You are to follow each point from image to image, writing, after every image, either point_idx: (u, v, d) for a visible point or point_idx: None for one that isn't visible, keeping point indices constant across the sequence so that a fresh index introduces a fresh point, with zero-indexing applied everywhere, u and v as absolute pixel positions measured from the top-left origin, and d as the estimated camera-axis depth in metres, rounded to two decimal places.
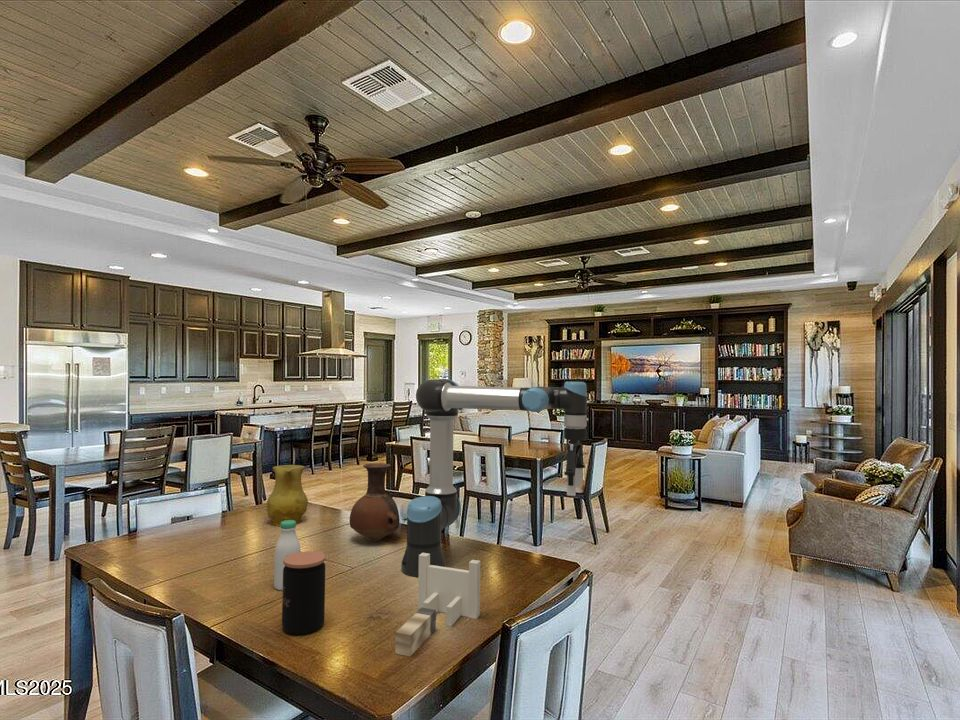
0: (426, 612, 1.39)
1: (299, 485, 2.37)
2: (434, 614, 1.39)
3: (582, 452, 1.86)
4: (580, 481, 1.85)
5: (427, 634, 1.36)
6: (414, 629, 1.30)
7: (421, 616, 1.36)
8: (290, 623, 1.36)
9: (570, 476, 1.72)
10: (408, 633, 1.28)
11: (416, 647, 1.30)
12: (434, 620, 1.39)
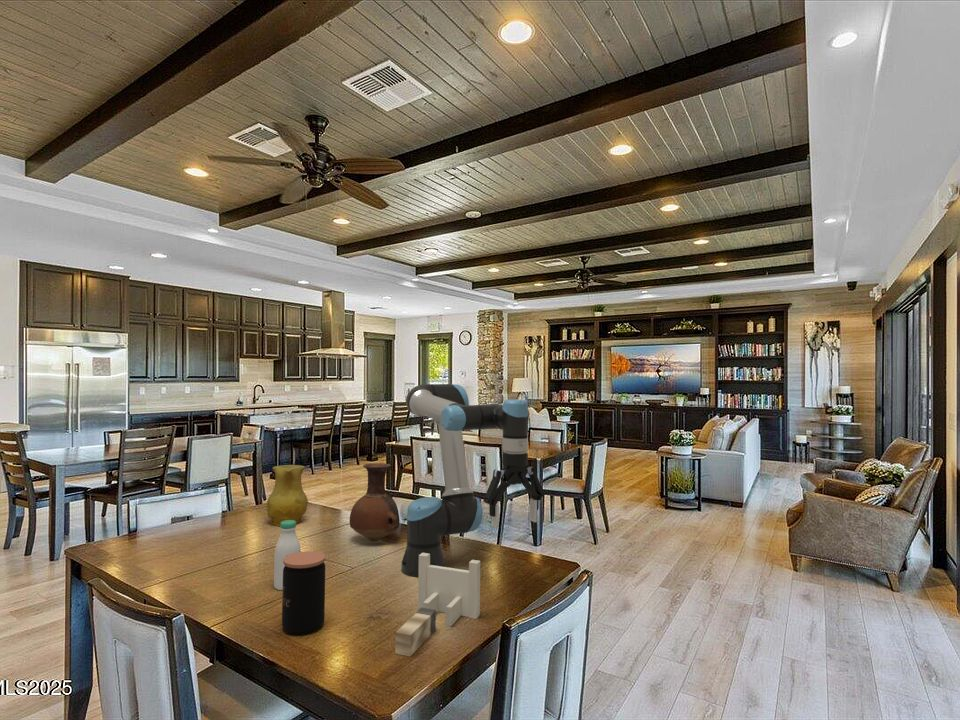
0: (426, 612, 1.39)
1: (299, 485, 2.37)
2: (434, 614, 1.39)
3: (538, 481, 1.61)
4: (533, 515, 1.61)
5: (427, 634, 1.36)
6: (414, 629, 1.30)
7: (421, 616, 1.36)
8: (290, 623, 1.36)
9: (490, 505, 1.54)
10: (408, 633, 1.28)
11: (416, 647, 1.30)
12: (434, 620, 1.39)
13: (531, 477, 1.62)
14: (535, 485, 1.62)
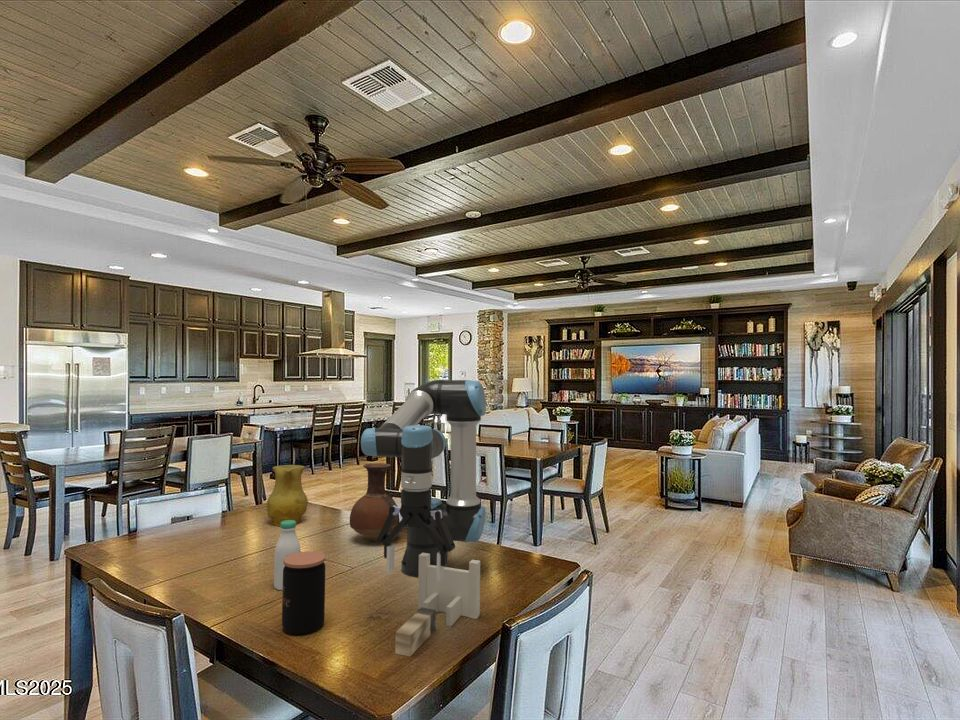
0: (426, 612, 1.39)
1: (299, 485, 2.37)
2: (434, 614, 1.39)
3: (442, 531, 1.29)
4: None
5: (427, 634, 1.36)
6: (414, 629, 1.30)
7: (421, 616, 1.36)
8: (290, 623, 1.36)
9: None
10: (408, 633, 1.28)
11: (416, 647, 1.30)
12: (434, 620, 1.39)
13: None
14: None
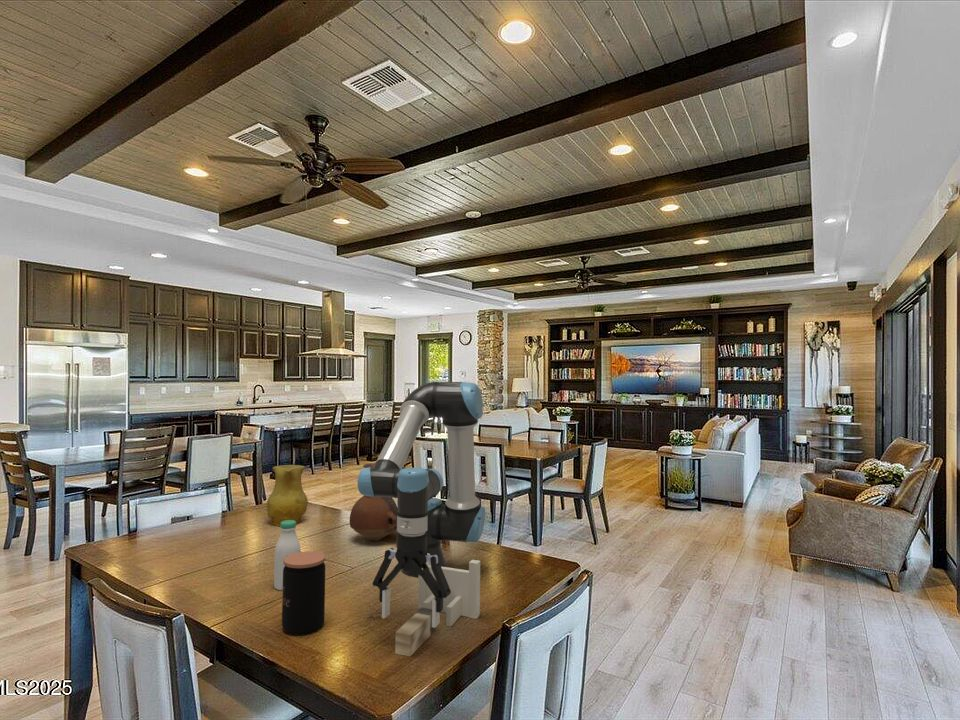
0: (426, 612, 1.39)
1: (299, 485, 2.37)
2: None
3: (437, 576, 1.28)
4: None
5: (427, 634, 1.36)
6: (414, 629, 1.30)
7: (421, 616, 1.37)
8: (290, 623, 1.36)
9: None
10: (408, 633, 1.28)
11: (416, 647, 1.30)
12: None
13: None
14: None
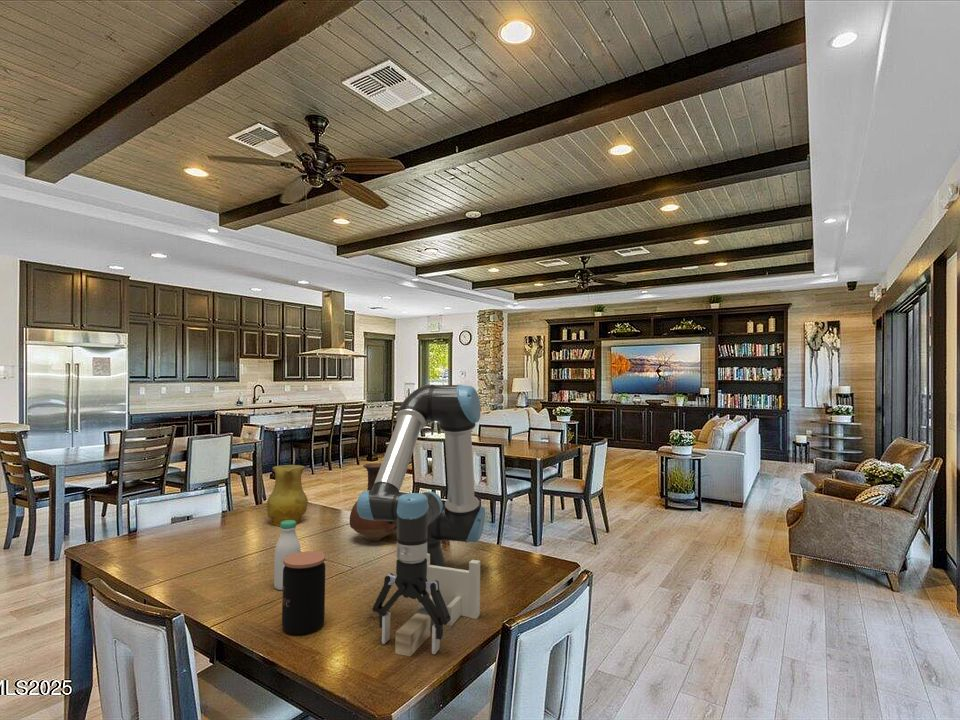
0: (426, 612, 1.39)
1: (299, 485, 2.37)
2: None
3: (437, 603, 1.28)
4: None
5: (427, 634, 1.36)
6: (414, 629, 1.30)
7: (421, 616, 1.37)
8: (290, 623, 1.36)
9: None
10: (408, 633, 1.28)
11: (416, 647, 1.30)
12: None
13: None
14: None
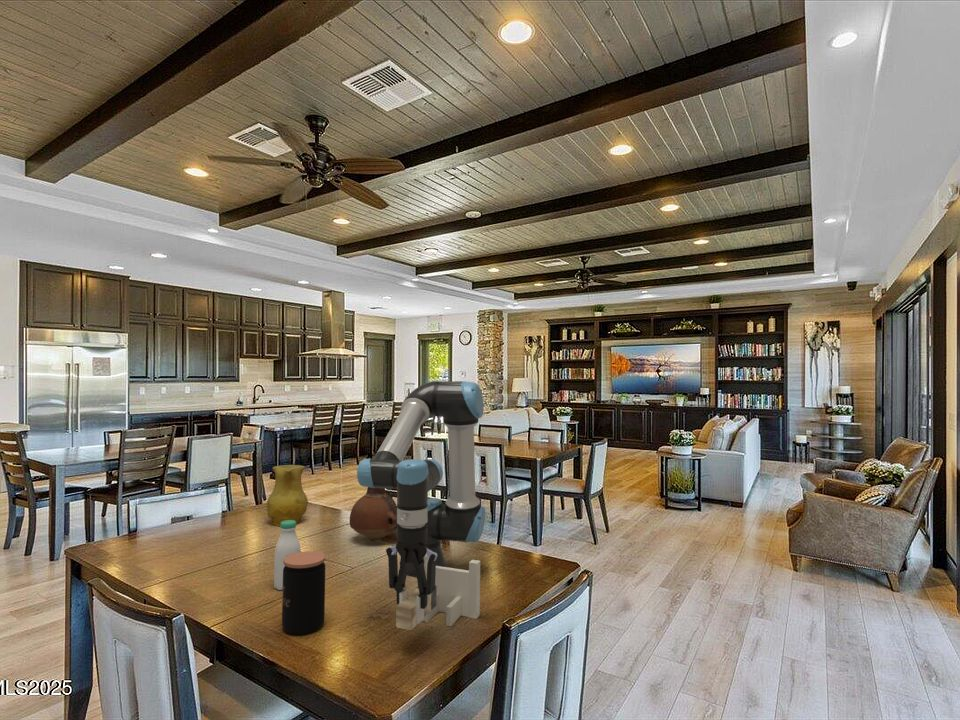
0: None
1: (299, 485, 2.37)
2: (435, 589, 1.40)
3: (429, 574, 1.29)
4: None
5: (428, 609, 1.36)
6: (415, 603, 1.30)
7: None
8: (290, 623, 1.36)
9: None
10: (409, 607, 1.28)
11: None
12: (435, 595, 1.40)
13: None
14: None
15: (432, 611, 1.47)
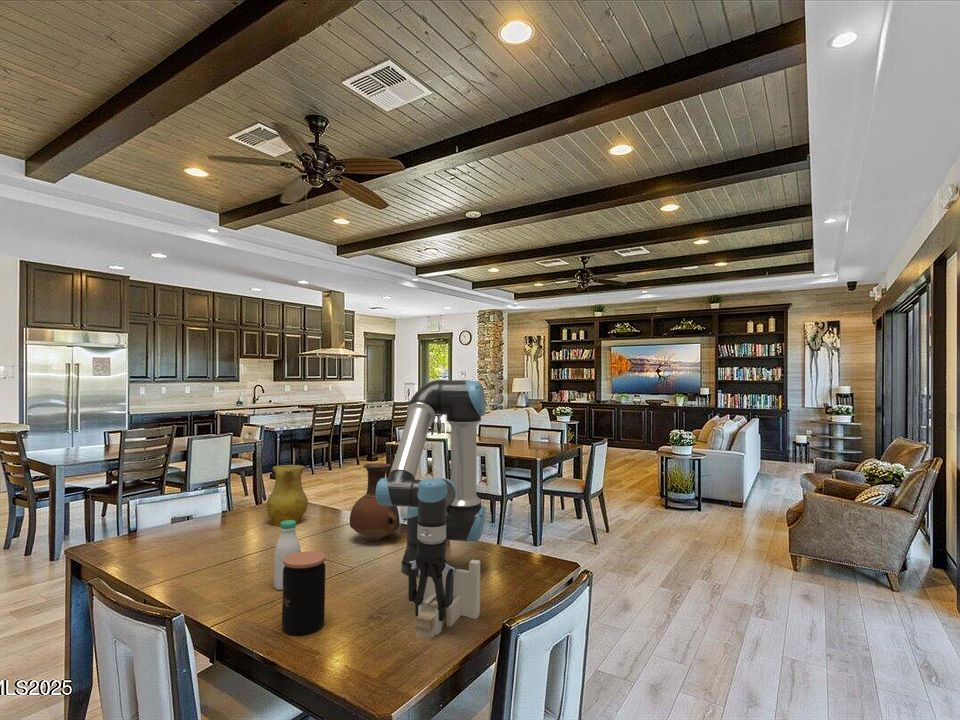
0: None
1: (299, 485, 2.37)
2: None
3: (448, 587, 1.36)
4: None
5: (445, 620, 1.43)
6: (433, 615, 1.37)
7: None
8: (290, 623, 1.36)
9: None
10: (428, 618, 1.35)
11: None
12: None
13: None
14: None
15: None
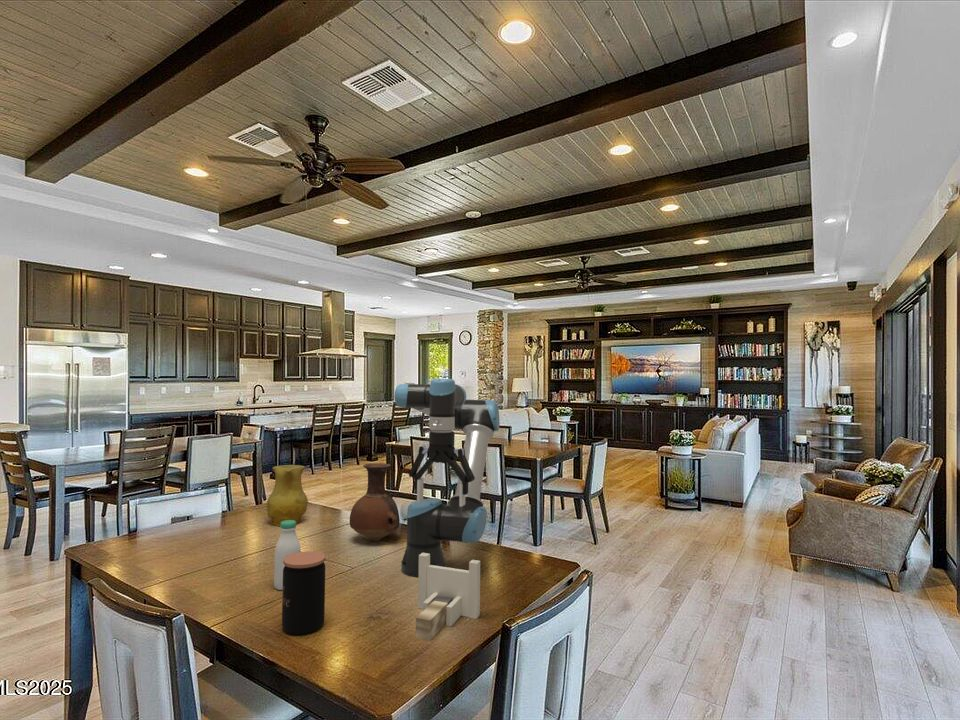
0: (443, 600, 1.46)
1: (299, 485, 2.37)
2: (451, 601, 1.47)
3: (464, 465, 1.54)
4: None
5: (445, 620, 1.43)
6: (433, 615, 1.37)
7: (439, 603, 1.44)
8: (290, 623, 1.36)
9: None
10: (428, 618, 1.35)
11: (435, 632, 1.38)
12: None
13: None
14: None
15: None
